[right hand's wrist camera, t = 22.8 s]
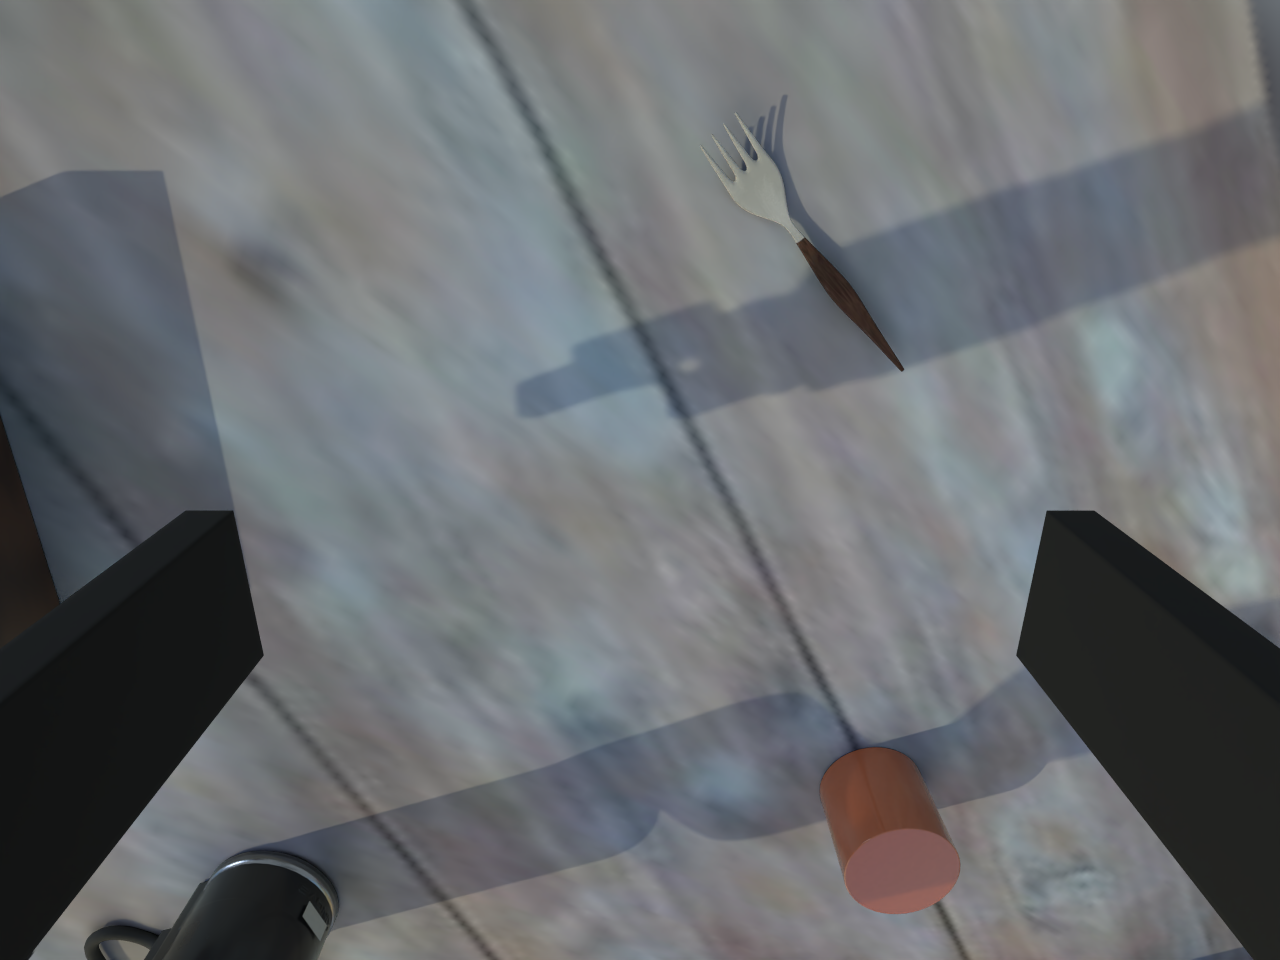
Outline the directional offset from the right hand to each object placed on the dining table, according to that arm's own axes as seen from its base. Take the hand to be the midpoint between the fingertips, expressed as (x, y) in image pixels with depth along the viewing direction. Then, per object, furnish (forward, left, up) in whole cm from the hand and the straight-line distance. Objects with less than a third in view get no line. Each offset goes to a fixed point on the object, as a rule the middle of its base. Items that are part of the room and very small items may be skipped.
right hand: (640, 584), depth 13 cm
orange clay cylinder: (+18, +32, -31) cm, 48 cm away
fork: (-7, +6, -31) cm, 32 cm away
